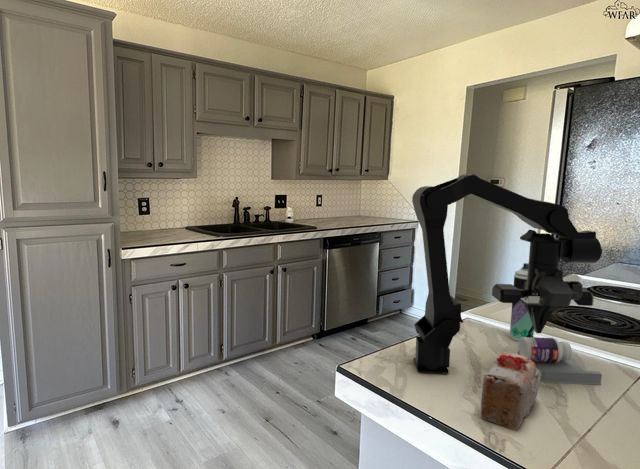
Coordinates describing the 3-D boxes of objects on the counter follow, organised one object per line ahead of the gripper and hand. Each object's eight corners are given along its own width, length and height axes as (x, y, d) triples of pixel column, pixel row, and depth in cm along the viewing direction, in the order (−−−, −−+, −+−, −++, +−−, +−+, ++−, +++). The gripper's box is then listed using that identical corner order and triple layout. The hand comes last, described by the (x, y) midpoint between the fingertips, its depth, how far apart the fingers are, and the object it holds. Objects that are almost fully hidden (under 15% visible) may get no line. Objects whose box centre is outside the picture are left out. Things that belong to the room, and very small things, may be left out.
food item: (495, 386, 79) (498, 339, 78) (540, 399, 75) (544, 349, 74) (476, 418, 69) (479, 364, 67) (527, 436, 64) (532, 378, 63)
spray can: (504, 335, 106) (510, 262, 103) (521, 333, 108) (527, 261, 105) (520, 343, 101) (527, 266, 98) (537, 341, 102) (544, 265, 100)
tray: (544, 382, 81) (545, 371, 81) (517, 354, 94) (518, 345, 94) (600, 384, 80) (601, 374, 80) (566, 356, 93) (567, 347, 93)
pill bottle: (529, 351, 86) (576, 352, 86) (521, 331, 91) (566, 333, 90) (523, 366, 90) (568, 368, 89) (515, 347, 94) (558, 348, 93)
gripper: (513, 269, 77) (507, 345, 79) (614, 272, 76) (606, 350, 78) (493, 258, 88) (488, 325, 90) (581, 260, 87) (574, 329, 89)
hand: (537, 332), depth 87 cm, fingers closed
